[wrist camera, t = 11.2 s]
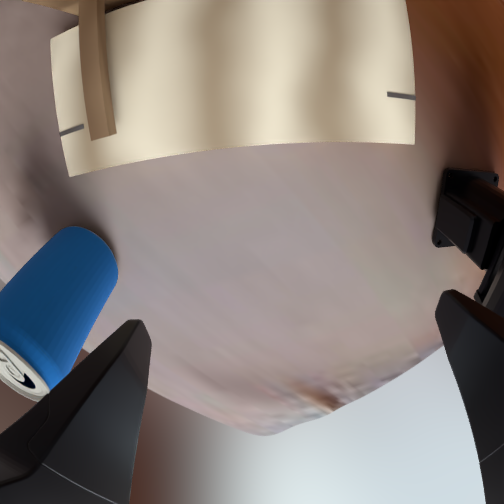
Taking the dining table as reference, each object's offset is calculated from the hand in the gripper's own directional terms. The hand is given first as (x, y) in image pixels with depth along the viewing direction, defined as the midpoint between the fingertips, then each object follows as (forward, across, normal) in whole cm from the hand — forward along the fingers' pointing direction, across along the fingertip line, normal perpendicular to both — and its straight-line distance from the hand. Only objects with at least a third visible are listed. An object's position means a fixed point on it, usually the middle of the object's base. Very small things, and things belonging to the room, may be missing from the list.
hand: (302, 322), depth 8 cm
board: (+12, +2, -8) cm, 15 cm away
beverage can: (+12, +15, +4) cm, 20 cm away
